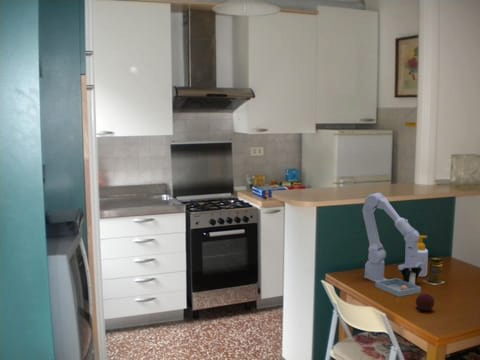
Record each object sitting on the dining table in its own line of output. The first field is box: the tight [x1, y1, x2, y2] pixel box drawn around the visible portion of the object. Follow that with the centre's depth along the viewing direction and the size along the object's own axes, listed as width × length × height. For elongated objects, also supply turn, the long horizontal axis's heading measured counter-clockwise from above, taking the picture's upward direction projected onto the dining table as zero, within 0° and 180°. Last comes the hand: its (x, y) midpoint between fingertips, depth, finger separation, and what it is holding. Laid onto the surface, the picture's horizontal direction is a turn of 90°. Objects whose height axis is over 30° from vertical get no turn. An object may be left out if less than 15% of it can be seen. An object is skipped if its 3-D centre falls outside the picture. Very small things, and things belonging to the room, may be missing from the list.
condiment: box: [423, 257, 446, 286], centre depth 248 cm, size 7×8×12 cm
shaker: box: [409, 271, 416, 285], centre depth 242 cm, size 5×5×6 cm
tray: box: [374, 277, 422, 298], centre depth 235 cm, size 16×14×3 cm
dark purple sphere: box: [415, 293, 435, 312], centre depth 210 cm, size 7×8×7 cm
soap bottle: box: [409, 235, 429, 278], centre depth 261 cm, size 13×8×20 cm, turn 171°
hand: (410, 282), depth 242 cm, fingers closed on shaker, 4 cm apart
